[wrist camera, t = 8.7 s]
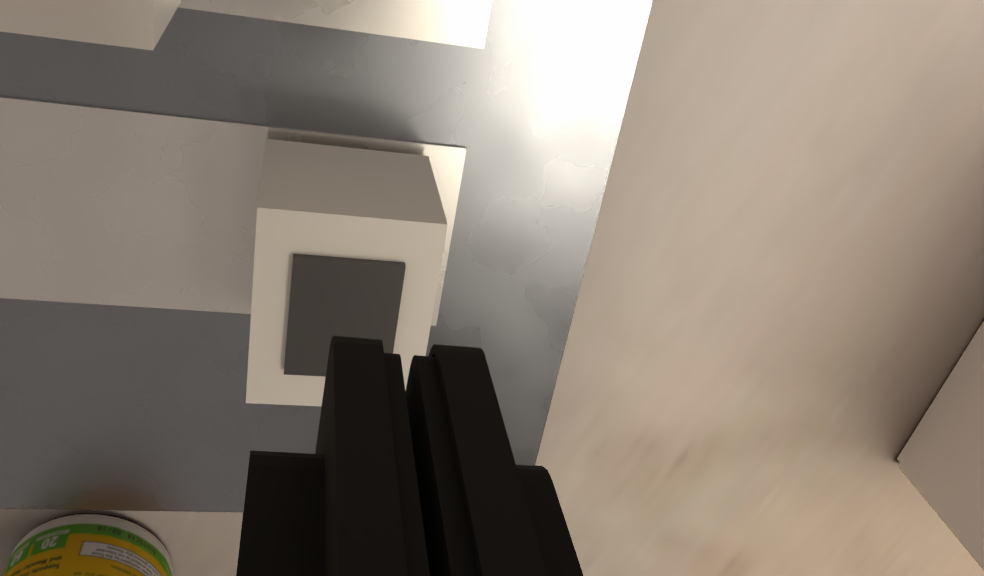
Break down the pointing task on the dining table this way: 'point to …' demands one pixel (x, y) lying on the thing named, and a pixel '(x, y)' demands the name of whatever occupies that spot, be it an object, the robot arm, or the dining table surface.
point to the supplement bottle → (89, 549)
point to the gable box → (954, 451)
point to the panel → (233, 212)
